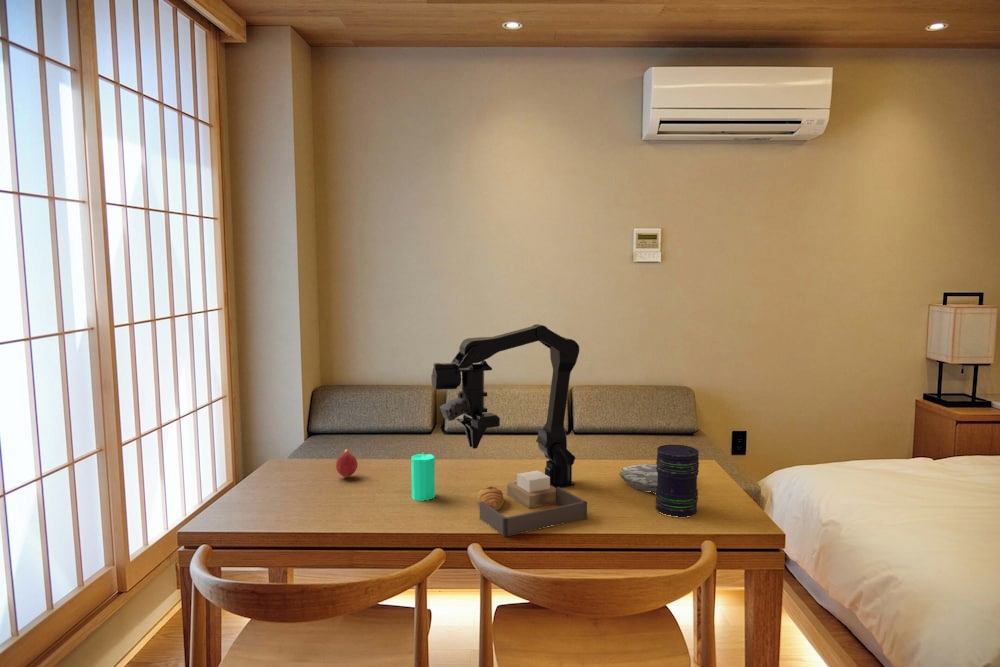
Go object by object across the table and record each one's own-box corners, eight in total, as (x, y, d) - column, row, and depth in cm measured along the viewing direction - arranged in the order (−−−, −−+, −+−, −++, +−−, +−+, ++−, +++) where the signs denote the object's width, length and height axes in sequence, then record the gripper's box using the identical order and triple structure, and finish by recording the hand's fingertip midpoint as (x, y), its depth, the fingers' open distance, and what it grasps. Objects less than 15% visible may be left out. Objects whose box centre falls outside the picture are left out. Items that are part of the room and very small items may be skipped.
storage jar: (652, 514, 161) (653, 453, 159) (658, 501, 170) (659, 442, 168) (695, 520, 157) (697, 457, 156) (699, 506, 166) (701, 446, 165)
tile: (537, 481, 176) (537, 470, 175) (549, 488, 170) (549, 476, 170) (517, 485, 173) (517, 473, 172) (529, 492, 167) (529, 480, 167)
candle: (431, 501, 170) (430, 455, 168) (408, 500, 171) (407, 453, 169) (438, 493, 175) (437, 448, 174) (416, 491, 177) (415, 447, 175)
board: (537, 489, 179) (537, 478, 178) (560, 502, 169) (560, 490, 169) (507, 494, 174) (507, 483, 174) (529, 508, 165) (529, 496, 165)
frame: (558, 502, 169) (558, 486, 168) (586, 518, 158) (587, 502, 158) (479, 518, 158) (479, 502, 158) (504, 536, 148) (504, 519, 148)
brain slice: (627, 470, 195) (627, 460, 195) (687, 477, 189) (688, 467, 189) (612, 492, 177) (613, 481, 177) (679, 500, 171) (679, 489, 171)
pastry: (507, 512, 163) (507, 497, 163) (479, 514, 162) (479, 498, 162) (501, 498, 172) (501, 484, 172) (475, 500, 171) (475, 485, 171)
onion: (355, 481, 185) (354, 452, 184) (334, 481, 185) (333, 452, 184) (359, 474, 191) (359, 447, 190) (339, 474, 191) (338, 446, 190)
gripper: (429, 384, 177) (430, 443, 179) (459, 397, 161) (460, 461, 163) (467, 381, 183) (468, 437, 184) (501, 393, 166) (501, 455, 168)
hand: (473, 447), depth 175 cm, fingers closed
